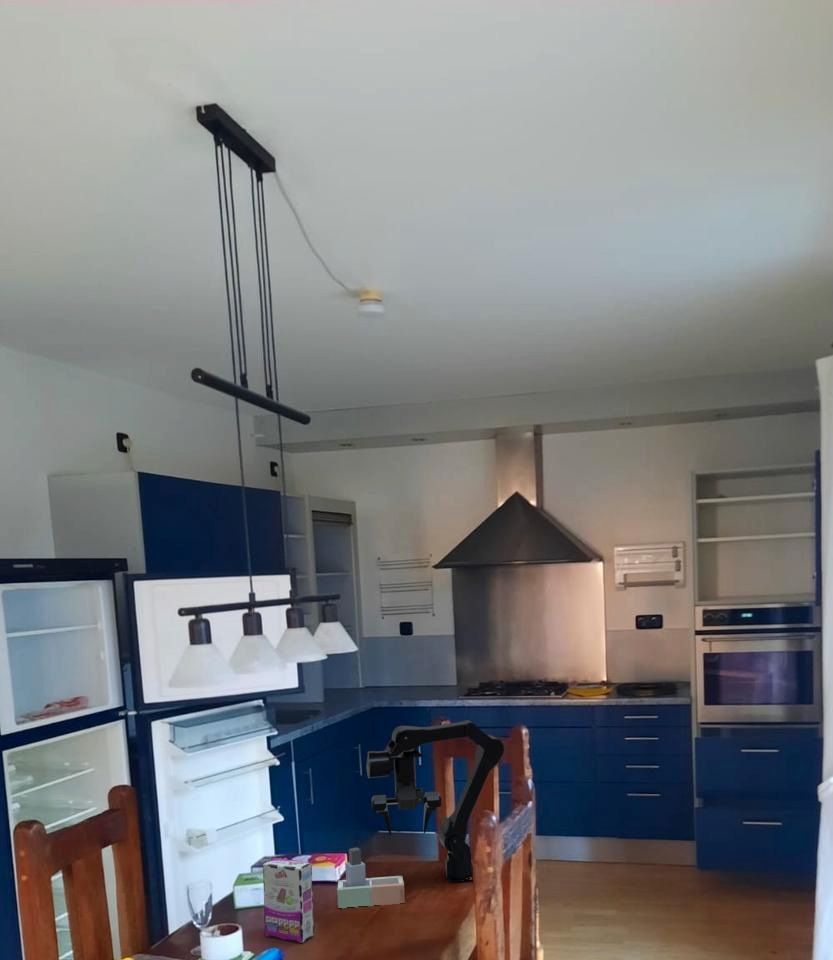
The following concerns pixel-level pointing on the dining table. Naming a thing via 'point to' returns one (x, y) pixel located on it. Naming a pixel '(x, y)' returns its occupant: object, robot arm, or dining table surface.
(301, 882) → the candy bar box
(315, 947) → the dining table surface
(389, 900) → the socket block
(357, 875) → the grey capped bottle
